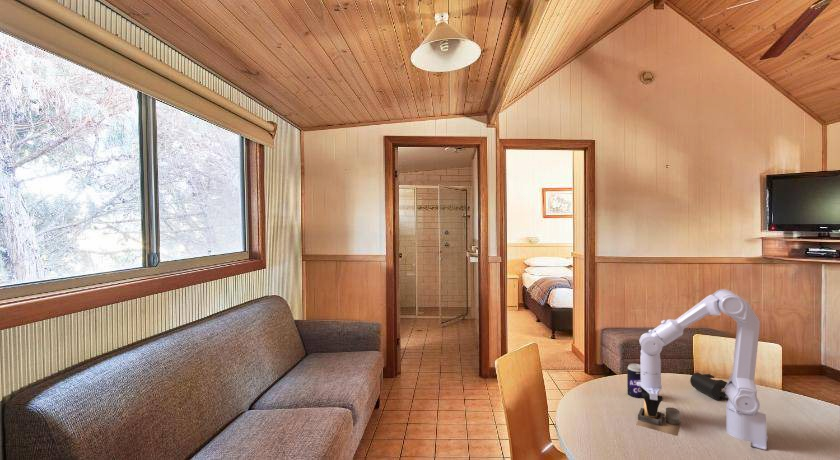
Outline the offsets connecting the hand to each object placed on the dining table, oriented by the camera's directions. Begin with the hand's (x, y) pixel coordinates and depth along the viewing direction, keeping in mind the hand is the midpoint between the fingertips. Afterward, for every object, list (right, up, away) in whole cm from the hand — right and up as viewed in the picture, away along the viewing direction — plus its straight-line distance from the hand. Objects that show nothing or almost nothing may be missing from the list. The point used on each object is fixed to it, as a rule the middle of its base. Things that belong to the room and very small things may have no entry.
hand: (651, 412), depth 127 cm
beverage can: (+5, -3, +17) cm, 18 cm away
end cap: (+32, -2, +18) cm, 37 cm away
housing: (+1, -4, -3) cm, 4 cm away
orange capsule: (0, -2, 0) cm, 2 cm away
